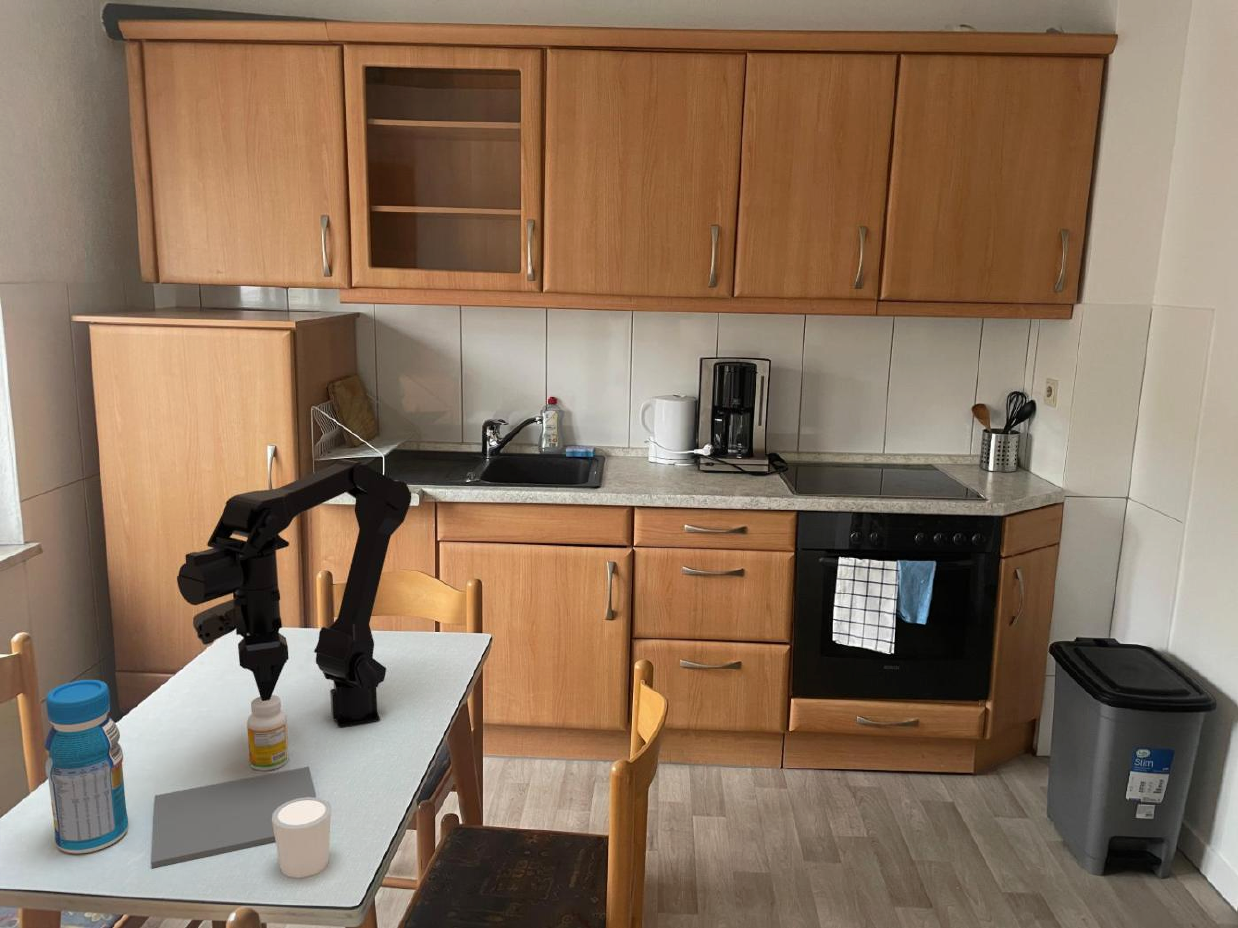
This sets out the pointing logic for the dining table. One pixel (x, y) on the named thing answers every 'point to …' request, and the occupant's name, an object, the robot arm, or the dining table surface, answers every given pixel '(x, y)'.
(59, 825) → the beverage bottle
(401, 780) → the dining table surface
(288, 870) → the cream cup
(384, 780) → the dining table surface
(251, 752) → the supplement bottle
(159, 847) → the charcoal mat
